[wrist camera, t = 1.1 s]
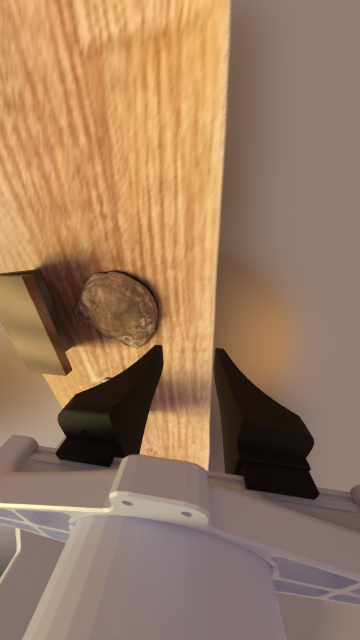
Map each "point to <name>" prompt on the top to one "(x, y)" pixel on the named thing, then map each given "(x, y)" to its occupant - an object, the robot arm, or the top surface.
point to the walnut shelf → (33, 322)
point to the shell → (119, 307)
